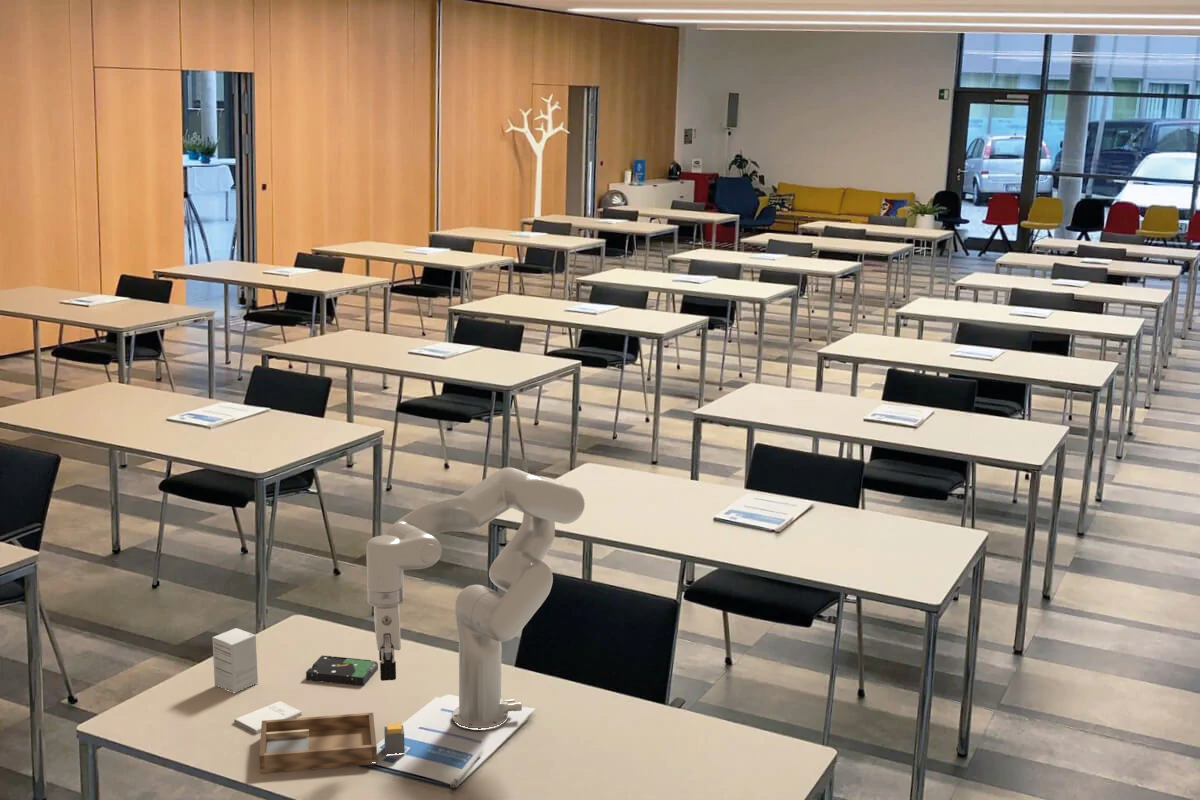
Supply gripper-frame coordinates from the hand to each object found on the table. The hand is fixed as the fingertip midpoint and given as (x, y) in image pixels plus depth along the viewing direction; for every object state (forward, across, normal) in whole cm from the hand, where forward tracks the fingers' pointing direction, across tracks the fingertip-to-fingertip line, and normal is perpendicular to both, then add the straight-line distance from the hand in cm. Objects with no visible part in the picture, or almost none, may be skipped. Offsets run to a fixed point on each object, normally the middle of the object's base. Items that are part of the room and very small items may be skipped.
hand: (387, 669), depth 280 cm
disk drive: (+20, +40, +10) cm, 45 cm away
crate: (+18, +2, +15) cm, 24 cm away
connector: (+19, -1, -1) cm, 19 cm away
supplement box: (+19, +37, +35) cm, 54 cm away
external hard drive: (+19, +18, +27) cm, 38 cm away
